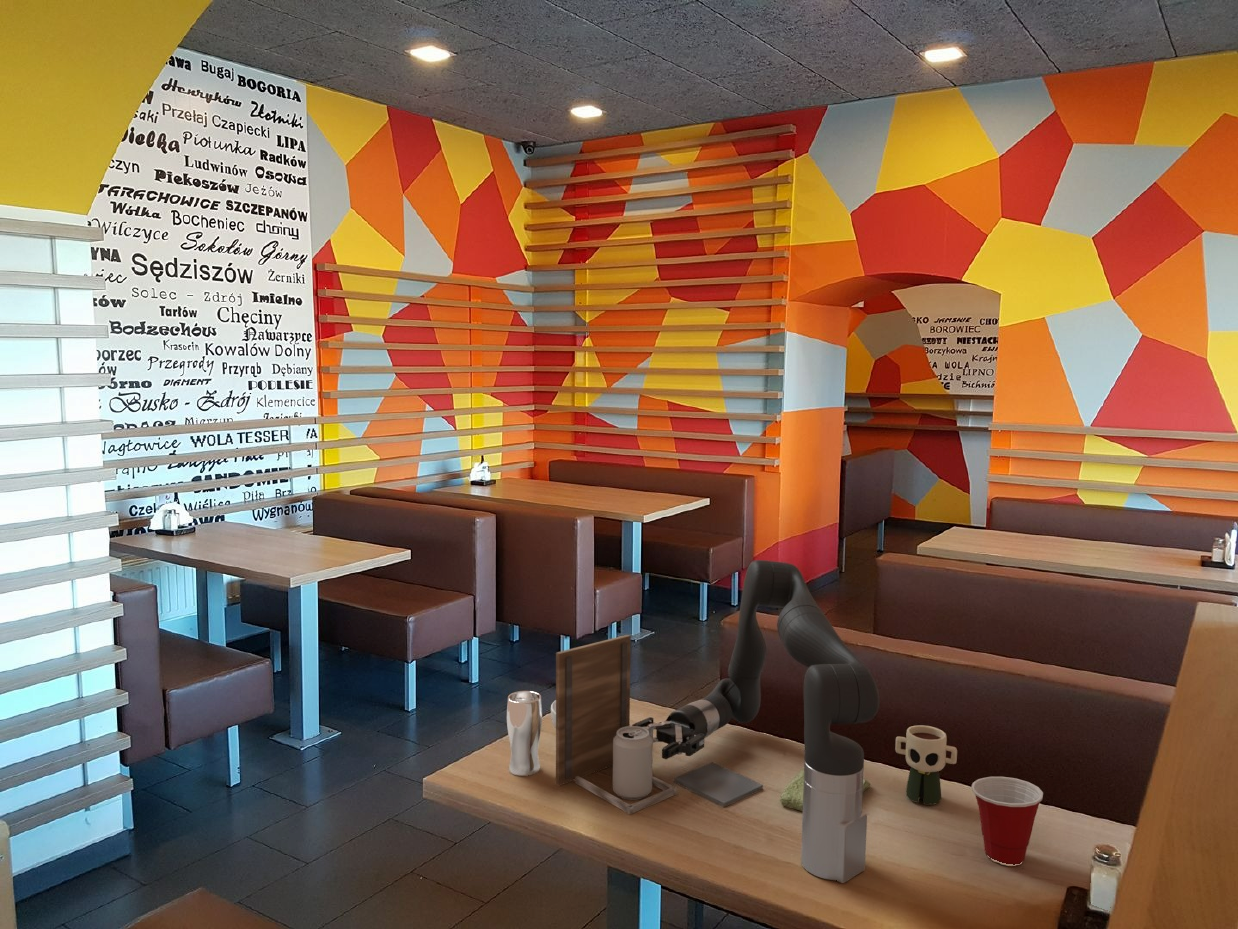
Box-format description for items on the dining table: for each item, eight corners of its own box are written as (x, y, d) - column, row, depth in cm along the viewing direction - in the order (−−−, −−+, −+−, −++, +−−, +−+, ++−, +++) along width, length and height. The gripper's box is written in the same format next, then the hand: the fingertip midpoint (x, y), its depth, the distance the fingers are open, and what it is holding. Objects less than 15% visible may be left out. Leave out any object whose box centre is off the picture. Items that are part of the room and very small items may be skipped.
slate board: (762, 789, 169) (762, 785, 169) (723, 807, 162) (723, 803, 162) (712, 765, 179) (712, 762, 179) (673, 782, 172) (673, 778, 172)
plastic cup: (979, 833, 154) (983, 766, 153) (1046, 855, 147) (1051, 785, 146) (958, 859, 146) (962, 789, 144) (1028, 883, 139) (1033, 810, 138)
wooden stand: (688, 789, 169) (691, 657, 166) (617, 820, 157) (618, 678, 154) (625, 757, 182) (627, 634, 180) (555, 784, 171) (556, 652, 168)
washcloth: (872, 788, 171) (873, 772, 171) (843, 828, 156) (844, 810, 156) (807, 771, 178) (807, 756, 178) (773, 808, 163) (774, 791, 163)
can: (606, 787, 169) (606, 727, 168) (641, 780, 172) (642, 721, 171) (622, 805, 163) (623, 742, 161) (659, 797, 166) (660, 735, 164)
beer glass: (544, 762, 180) (545, 691, 178) (538, 778, 173) (538, 704, 171) (511, 760, 180) (510, 689, 179) (503, 776, 174) (503, 702, 172)
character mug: (889, 800, 165) (892, 733, 164) (896, 785, 172) (899, 720, 170) (951, 814, 160) (955, 745, 159) (956, 798, 167) (960, 731, 165)
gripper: (665, 696, 186) (616, 719, 174) (723, 713, 177) (676, 739, 165) (665, 731, 187) (616, 756, 174) (722, 749, 178) (675, 777, 166)
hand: (645, 748), depth 170 cm, fingers open, 8 cm apart
